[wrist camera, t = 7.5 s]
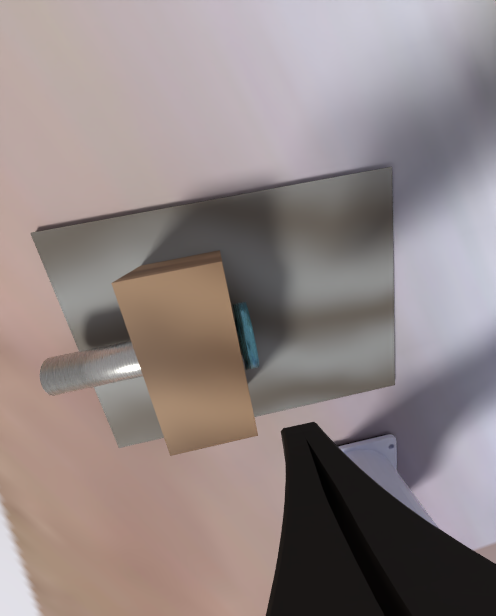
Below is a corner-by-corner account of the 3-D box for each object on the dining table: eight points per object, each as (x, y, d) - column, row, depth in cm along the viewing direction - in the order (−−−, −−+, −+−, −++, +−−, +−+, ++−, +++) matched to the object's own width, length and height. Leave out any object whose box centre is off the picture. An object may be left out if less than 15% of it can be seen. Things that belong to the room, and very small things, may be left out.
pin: (253, 349, 19) (262, 380, 16) (81, 385, 19) (47, 427, 15) (242, 294, 18) (250, 313, 14) (58, 331, 17) (15, 362, 14)
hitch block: (391, 382, 23) (446, 431, 17) (120, 444, 21) (89, 517, 16) (388, 167, 18) (463, 144, 12) (34, 232, 16) (-52, 237, 11)
